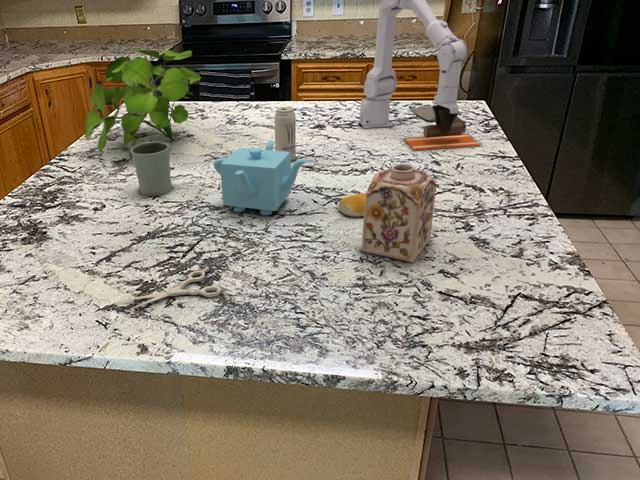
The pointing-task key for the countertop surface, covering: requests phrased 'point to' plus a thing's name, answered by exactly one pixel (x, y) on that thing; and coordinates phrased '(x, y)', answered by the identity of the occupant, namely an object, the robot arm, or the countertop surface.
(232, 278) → the countertop surface
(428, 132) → the rolling pin
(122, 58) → the indoor plant
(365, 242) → the decorative jar
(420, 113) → the cleaver
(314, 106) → the countertop surface
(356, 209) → the bread roll
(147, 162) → the grey cup
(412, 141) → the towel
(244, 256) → the countertop surface
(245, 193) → the teakettle
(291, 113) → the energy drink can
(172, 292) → the scissors
